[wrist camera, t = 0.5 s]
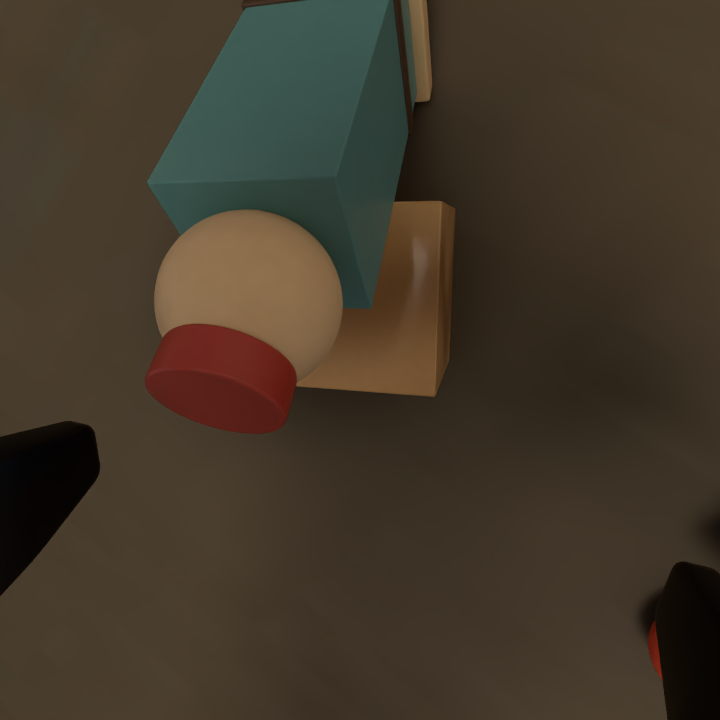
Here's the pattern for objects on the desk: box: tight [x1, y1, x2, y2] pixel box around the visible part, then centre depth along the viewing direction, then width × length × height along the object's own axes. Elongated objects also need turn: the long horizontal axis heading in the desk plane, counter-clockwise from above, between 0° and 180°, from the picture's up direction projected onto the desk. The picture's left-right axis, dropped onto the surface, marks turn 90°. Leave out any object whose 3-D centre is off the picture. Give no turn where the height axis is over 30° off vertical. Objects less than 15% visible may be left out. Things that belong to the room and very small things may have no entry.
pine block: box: [296, 201, 455, 397], centre depth 19 cm, size 6×7×5 cm
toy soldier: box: [145, 0, 432, 434], centre depth 14 cm, size 13×5×13 cm, turn 0°
